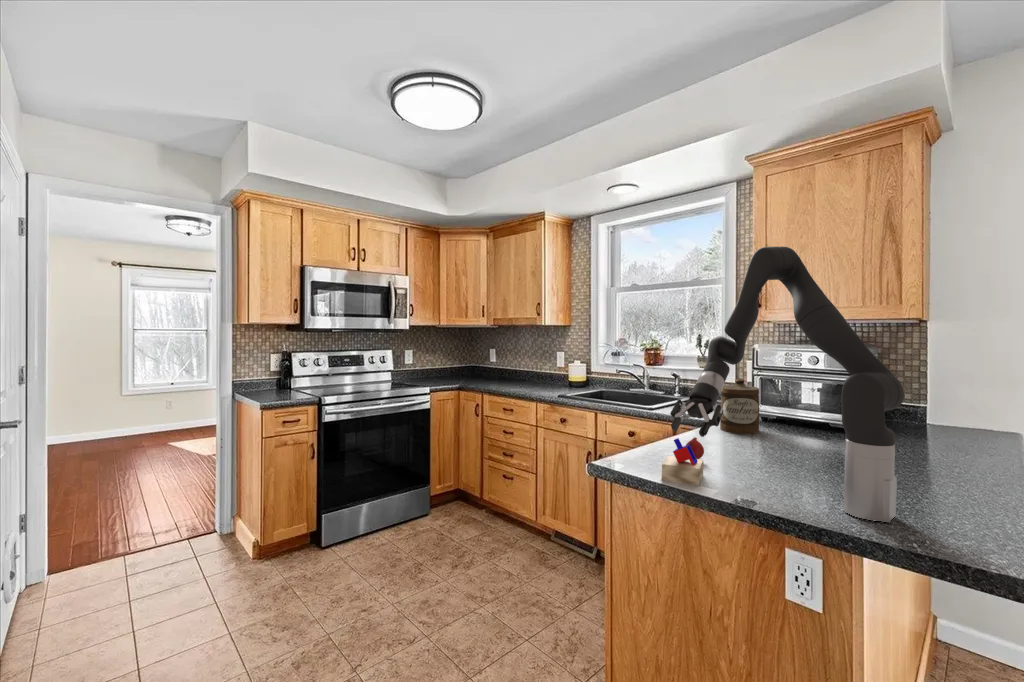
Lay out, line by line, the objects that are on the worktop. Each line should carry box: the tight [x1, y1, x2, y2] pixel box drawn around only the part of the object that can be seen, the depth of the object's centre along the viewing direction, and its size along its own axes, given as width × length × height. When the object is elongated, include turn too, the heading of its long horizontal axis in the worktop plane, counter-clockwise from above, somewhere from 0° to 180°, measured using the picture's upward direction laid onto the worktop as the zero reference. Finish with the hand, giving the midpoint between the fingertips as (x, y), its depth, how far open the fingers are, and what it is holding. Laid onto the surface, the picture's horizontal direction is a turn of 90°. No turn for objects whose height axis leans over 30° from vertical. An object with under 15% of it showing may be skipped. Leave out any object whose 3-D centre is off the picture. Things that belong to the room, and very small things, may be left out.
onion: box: [685, 436, 705, 460], centre depth 157 cm, size 6×6×8 cm
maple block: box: [661, 455, 704, 486], centre depth 140 cm, size 10×10×5 cm
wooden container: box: [719, 377, 760, 435], centre depth 204 cm, size 15×15×22 cm
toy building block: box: [672, 437, 698, 465], centre depth 140 cm, size 4×4×8 cm
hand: (687, 432), depth 140 cm, fingers open, 8 cm apart
